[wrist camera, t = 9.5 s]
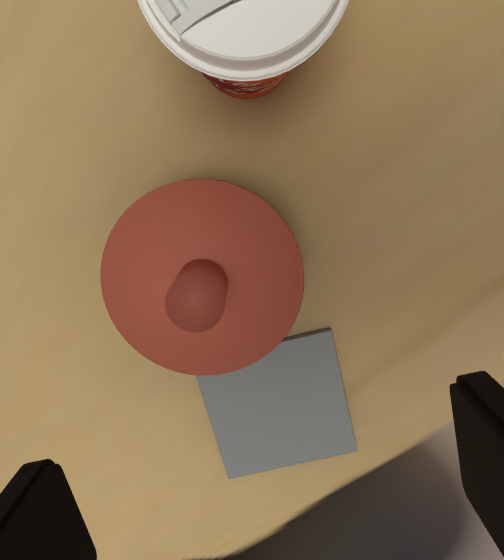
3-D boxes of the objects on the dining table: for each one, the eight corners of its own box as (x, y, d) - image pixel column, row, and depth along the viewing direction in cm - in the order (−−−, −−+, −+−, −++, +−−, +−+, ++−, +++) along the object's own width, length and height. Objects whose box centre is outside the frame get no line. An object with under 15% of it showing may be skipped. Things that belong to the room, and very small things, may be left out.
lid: (277, 155, 25) (284, 154, 20) (320, 346, 28) (334, 382, 23) (76, 207, 25) (38, 217, 21) (140, 387, 28) (119, 431, 24)
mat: (329, 327, 34) (331, 330, 33) (355, 446, 37) (357, 451, 36) (193, 359, 34) (192, 362, 34) (228, 474, 37) (228, 479, 37)
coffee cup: (230, 141, 30) (213, 122, 16) (157, 32, 28) (63, -103, 14) (333, 67, 29) (417, -28, 15) (264, -52, 27) (282, -296, 13)
